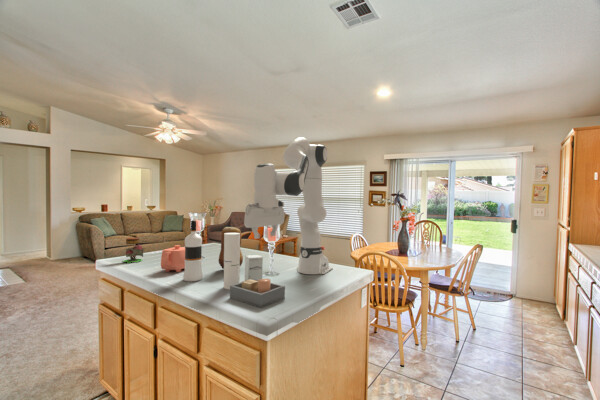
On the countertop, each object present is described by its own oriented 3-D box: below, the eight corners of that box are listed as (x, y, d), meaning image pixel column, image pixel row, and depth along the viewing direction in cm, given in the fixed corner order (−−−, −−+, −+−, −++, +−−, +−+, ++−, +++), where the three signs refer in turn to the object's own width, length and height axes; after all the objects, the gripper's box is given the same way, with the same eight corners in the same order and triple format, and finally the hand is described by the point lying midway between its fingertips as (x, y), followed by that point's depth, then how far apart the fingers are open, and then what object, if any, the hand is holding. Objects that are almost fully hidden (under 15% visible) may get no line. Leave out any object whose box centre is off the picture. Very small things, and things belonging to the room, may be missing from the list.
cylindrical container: (226, 284, 139) (226, 232, 138) (241, 284, 138) (241, 232, 138) (221, 289, 131) (222, 234, 131) (237, 289, 131) (237, 234, 131)
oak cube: (250, 290, 127) (250, 279, 127) (258, 293, 124) (258, 281, 124) (241, 293, 123) (241, 281, 123) (249, 296, 120) (249, 284, 120)
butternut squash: (246, 268, 171) (247, 226, 171) (236, 274, 158) (237, 228, 158) (225, 267, 174) (225, 225, 174) (213, 272, 161) (214, 227, 161)
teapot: (179, 264, 179) (179, 241, 179) (198, 266, 176) (198, 242, 176) (154, 273, 157) (154, 247, 157) (175, 275, 154) (175, 248, 154)
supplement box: (247, 284, 140) (248, 258, 140) (244, 280, 147) (244, 255, 146) (262, 282, 143) (262, 257, 143) (258, 278, 149) (258, 254, 149)
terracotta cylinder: (266, 294, 121) (266, 278, 121) (272, 297, 117) (272, 280, 117) (256, 297, 119) (255, 280, 119) (262, 300, 114) (261, 282, 114)
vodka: (179, 281, 143) (180, 220, 143) (189, 276, 152) (190, 219, 152) (196, 282, 141) (197, 221, 141) (206, 277, 151) (206, 220, 150)
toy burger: (142, 262, 183) (142, 239, 183) (119, 263, 180) (120, 239, 179) (146, 258, 195) (146, 236, 195) (124, 260, 191) (125, 237, 191)
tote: (254, 289, 131) (254, 278, 131) (284, 298, 121) (284, 286, 121) (229, 297, 120) (230, 285, 120) (260, 308, 109) (261, 294, 109)
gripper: (251, 203, 108) (252, 240, 108) (286, 202, 124) (287, 234, 124) (240, 203, 111) (240, 239, 111) (275, 202, 128) (275, 233, 128)
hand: (265, 237), depth 118 cm, fingers open, 8 cm apart
